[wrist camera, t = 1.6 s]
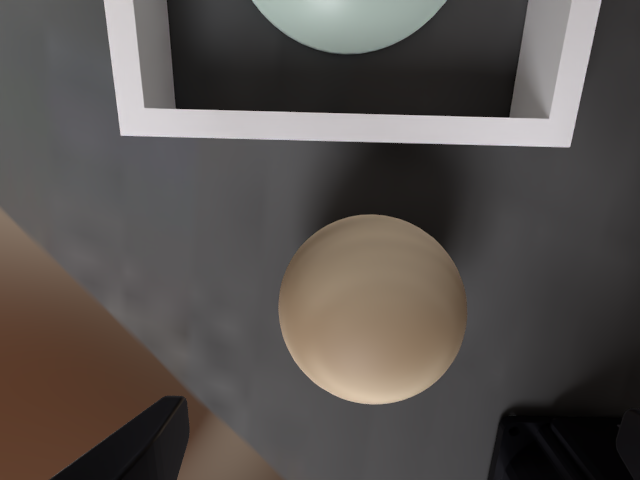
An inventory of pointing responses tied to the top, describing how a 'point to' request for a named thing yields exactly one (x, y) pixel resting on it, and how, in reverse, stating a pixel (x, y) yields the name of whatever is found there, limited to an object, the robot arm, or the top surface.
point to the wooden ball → (372, 309)
